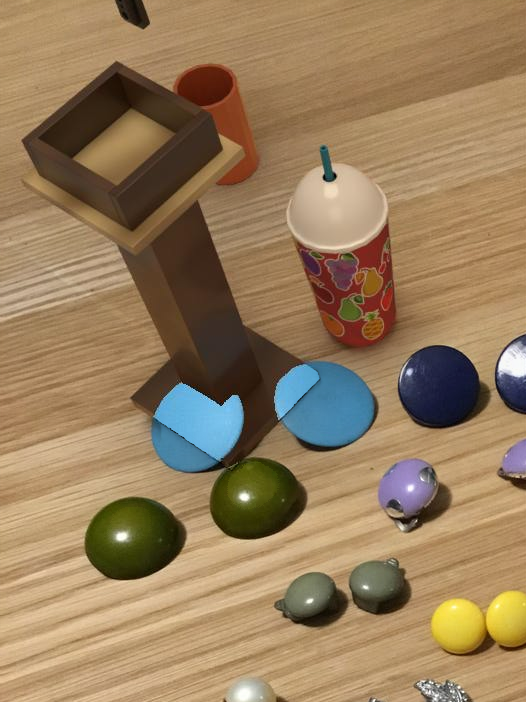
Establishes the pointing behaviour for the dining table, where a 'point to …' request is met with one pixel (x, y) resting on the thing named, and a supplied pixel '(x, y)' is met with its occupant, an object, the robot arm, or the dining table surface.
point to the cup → (222, 111)
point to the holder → (161, 233)
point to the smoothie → (345, 250)
